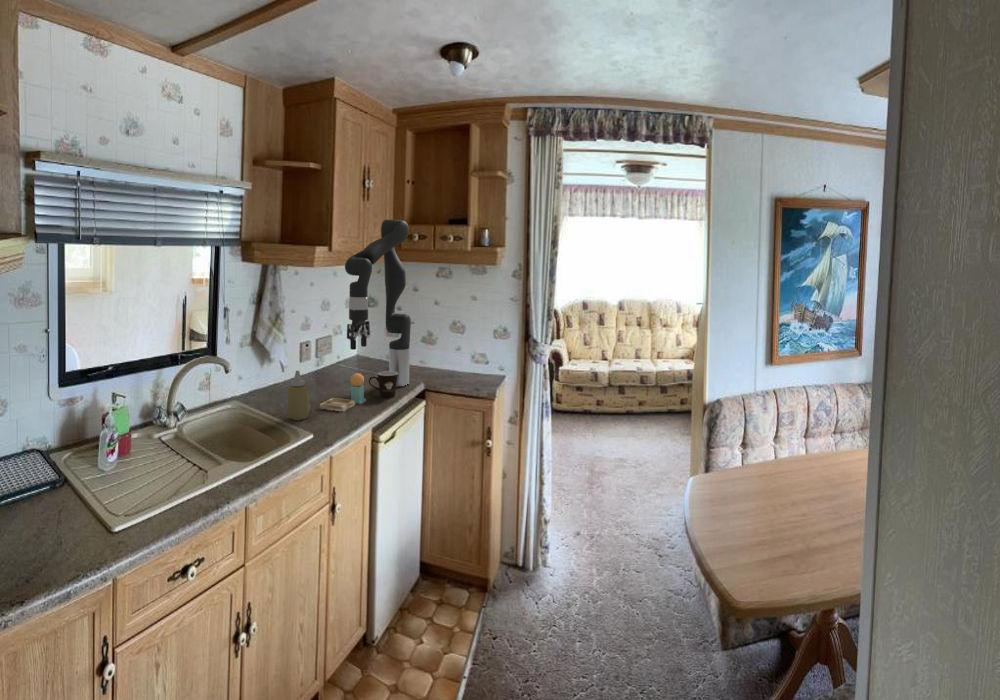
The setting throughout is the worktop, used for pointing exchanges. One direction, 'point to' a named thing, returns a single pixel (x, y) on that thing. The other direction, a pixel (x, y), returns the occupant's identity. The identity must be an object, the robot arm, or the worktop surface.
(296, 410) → the squeeze bottle
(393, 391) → the coffee mug
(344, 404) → the tray
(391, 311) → the robot arm
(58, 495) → the worktop surface
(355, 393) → the teal box
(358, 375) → the ball
